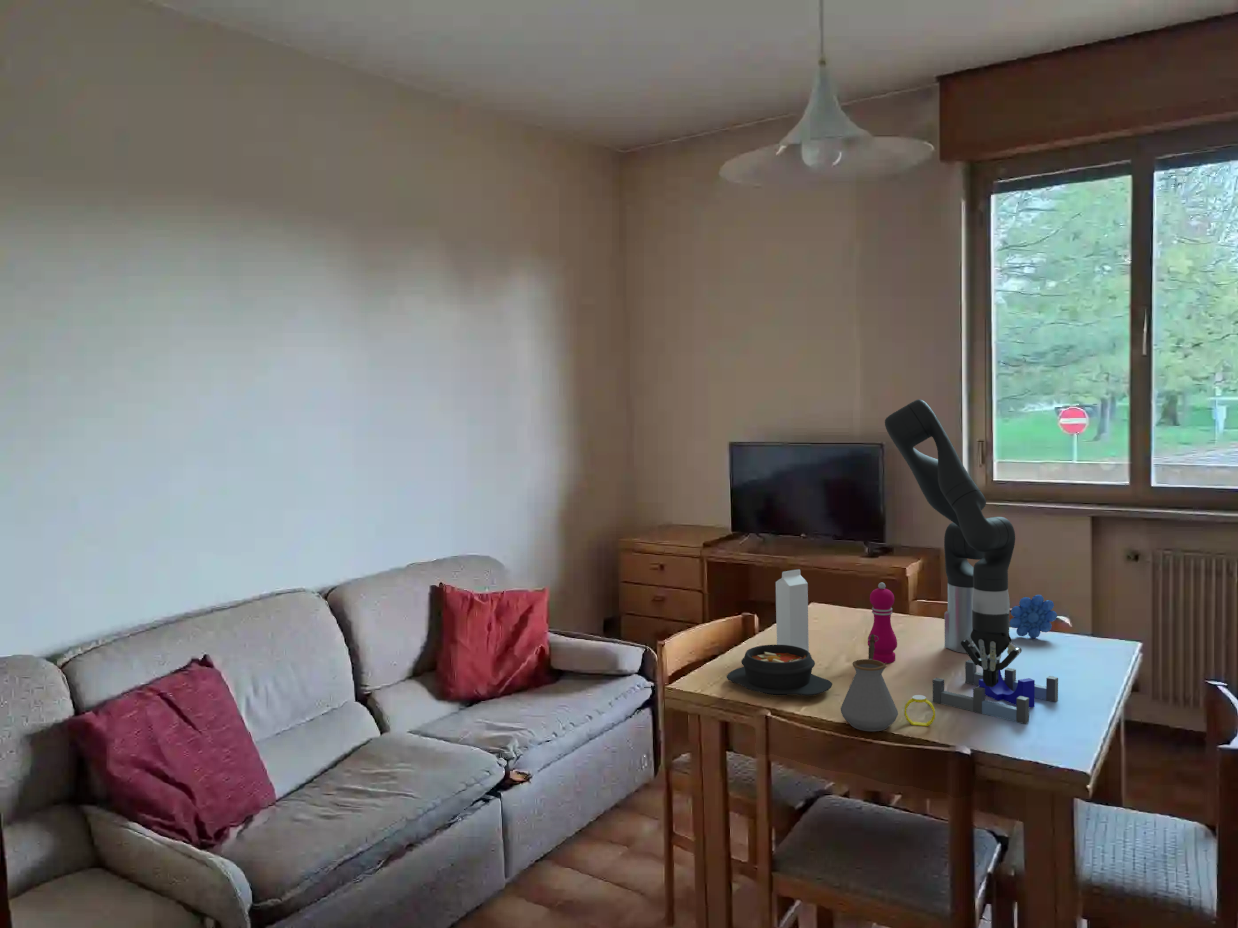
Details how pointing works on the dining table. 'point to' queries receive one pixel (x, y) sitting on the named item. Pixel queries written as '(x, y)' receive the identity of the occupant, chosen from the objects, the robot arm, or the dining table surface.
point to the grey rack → (989, 707)
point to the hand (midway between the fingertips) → (990, 685)
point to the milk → (792, 610)
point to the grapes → (1033, 616)
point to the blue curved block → (1004, 693)
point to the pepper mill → (883, 624)
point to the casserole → (779, 671)
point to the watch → (920, 700)
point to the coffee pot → (869, 696)
